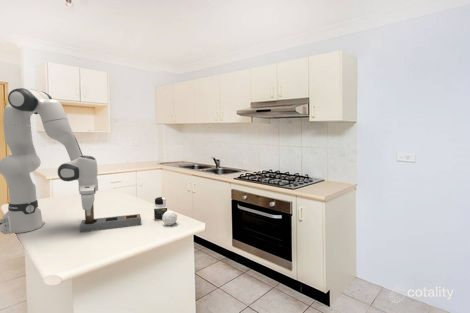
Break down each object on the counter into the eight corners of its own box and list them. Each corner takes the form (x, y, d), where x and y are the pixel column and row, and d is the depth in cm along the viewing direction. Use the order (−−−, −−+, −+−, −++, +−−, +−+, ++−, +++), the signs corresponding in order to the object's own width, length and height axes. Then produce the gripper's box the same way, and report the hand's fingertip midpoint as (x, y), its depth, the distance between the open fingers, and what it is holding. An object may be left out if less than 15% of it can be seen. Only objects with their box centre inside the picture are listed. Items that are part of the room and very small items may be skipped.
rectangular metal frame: (80, 232, 142) (79, 224, 142) (82, 226, 151) (81, 219, 150) (141, 224, 153) (140, 218, 153) (140, 220, 161) (139, 213, 161)
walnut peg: (83, 224, 147) (82, 201, 146) (90, 222, 151) (90, 200, 150) (88, 226, 145) (87, 203, 144) (95, 223, 149) (95, 201, 148)
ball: (169, 228, 156) (172, 214, 160) (178, 226, 151) (181, 211, 155) (157, 224, 152) (161, 209, 156) (166, 221, 147) (169, 207, 151)
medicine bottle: (154, 220, 160) (153, 199, 159) (154, 216, 167) (153, 196, 166) (167, 219, 162) (166, 198, 161) (166, 215, 169) (166, 196, 168)
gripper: (84, 184, 155) (84, 209, 156) (78, 191, 136) (79, 220, 137) (96, 183, 157) (97, 208, 158) (93, 190, 138) (94, 218, 139)
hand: (89, 213), depth 148 cm, fingers closed on walnut peg, 4 cm apart
